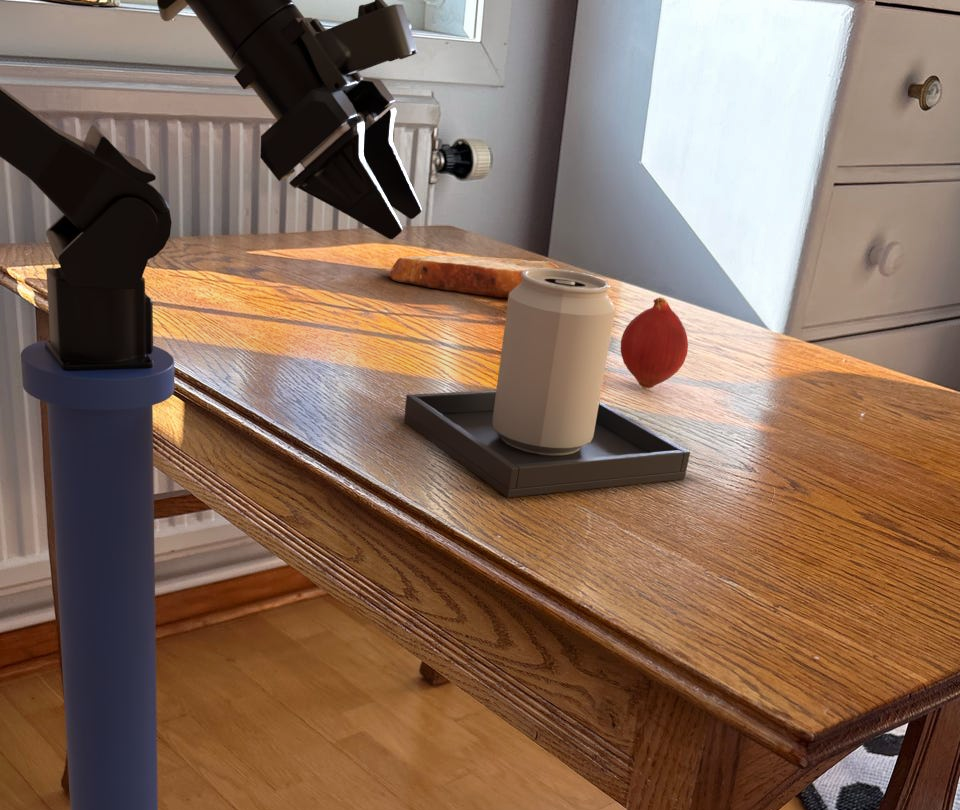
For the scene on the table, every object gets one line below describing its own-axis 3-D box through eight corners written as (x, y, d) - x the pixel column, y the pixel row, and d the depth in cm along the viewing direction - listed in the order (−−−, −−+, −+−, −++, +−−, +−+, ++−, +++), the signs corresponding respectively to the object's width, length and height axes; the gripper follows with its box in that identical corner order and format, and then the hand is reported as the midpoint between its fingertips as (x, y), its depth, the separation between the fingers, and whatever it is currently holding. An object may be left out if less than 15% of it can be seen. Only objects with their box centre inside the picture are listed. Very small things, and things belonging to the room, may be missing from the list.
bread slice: (375, 274, 131) (378, 240, 130) (488, 266, 143) (492, 234, 141) (487, 315, 121) (492, 279, 119) (599, 303, 133) (604, 269, 131)
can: (591, 432, 89) (619, 272, 84) (590, 466, 83) (620, 294, 77) (494, 418, 90) (515, 258, 84) (486, 450, 83) (508, 278, 77)
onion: (641, 374, 108) (658, 287, 104) (691, 393, 105) (710, 303, 101) (601, 382, 104) (617, 291, 101) (651, 401, 101) (670, 308, 97)
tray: (507, 498, 77) (511, 468, 76) (403, 421, 88) (406, 394, 87) (684, 479, 85) (690, 451, 84) (568, 410, 96) (572, 385, 95)
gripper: (319, -59, 69) (482, 167, 74) (376, -45, 85) (506, 139, 90) (188, 70, 73) (350, 276, 78) (266, 60, 89) (396, 231, 94)
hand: (407, 224), depth 85 cm, fingers open, 9 cm apart
